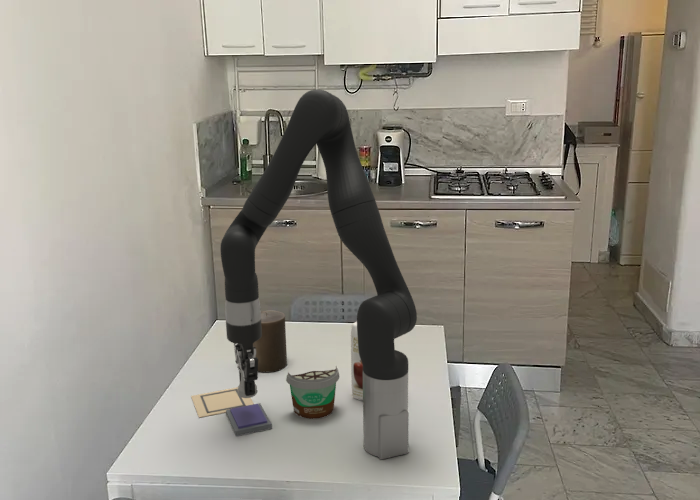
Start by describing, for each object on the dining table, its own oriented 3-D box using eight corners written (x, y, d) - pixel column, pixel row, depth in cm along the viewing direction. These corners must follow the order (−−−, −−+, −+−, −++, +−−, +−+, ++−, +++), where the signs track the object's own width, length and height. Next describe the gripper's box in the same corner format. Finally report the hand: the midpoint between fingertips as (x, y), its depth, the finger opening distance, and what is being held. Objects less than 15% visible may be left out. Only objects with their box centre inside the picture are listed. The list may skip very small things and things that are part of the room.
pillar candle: (285, 372, 177) (283, 317, 173) (247, 372, 177) (244, 318, 173) (288, 357, 186) (286, 305, 182) (252, 357, 186) (250, 305, 182)
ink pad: (272, 428, 150) (271, 421, 149) (236, 436, 147) (235, 429, 147) (260, 407, 159) (260, 401, 158) (226, 414, 156) (225, 408, 156)
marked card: (255, 406, 159) (255, 405, 159) (199, 417, 155) (199, 416, 155) (244, 386, 169) (244, 385, 169) (191, 396, 165) (191, 395, 165)
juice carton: (363, 385, 169) (363, 313, 164) (394, 393, 165) (395, 320, 159) (348, 398, 163) (347, 324, 158) (379, 407, 158) (379, 331, 153)
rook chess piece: (259, 389, 153) (258, 356, 151) (255, 399, 149) (253, 365, 147) (240, 388, 154) (238, 356, 152) (235, 398, 150) (233, 364, 147)
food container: (292, 425, 151) (290, 384, 148) (287, 412, 157) (285, 372, 154) (346, 417, 154) (345, 376, 152) (339, 404, 160) (338, 365, 157)
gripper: (268, 326, 141) (272, 401, 146) (252, 304, 154) (256, 373, 159) (232, 332, 139) (237, 407, 144) (219, 309, 152) (224, 379, 156)
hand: (247, 389), depth 151 cm, fingers closed on rook chess piece, 4 cm apart
